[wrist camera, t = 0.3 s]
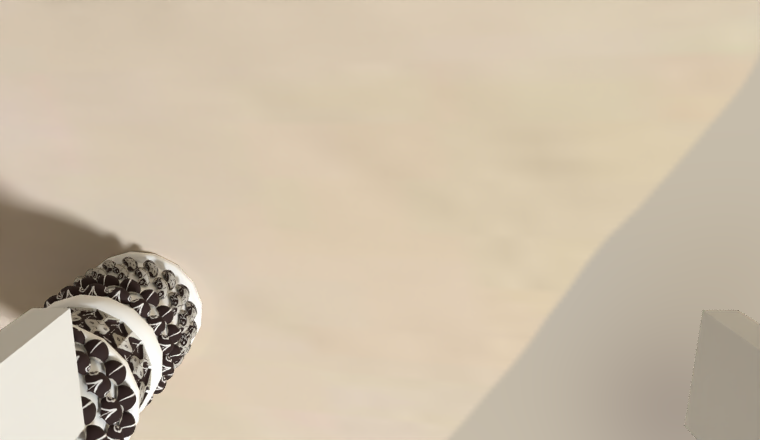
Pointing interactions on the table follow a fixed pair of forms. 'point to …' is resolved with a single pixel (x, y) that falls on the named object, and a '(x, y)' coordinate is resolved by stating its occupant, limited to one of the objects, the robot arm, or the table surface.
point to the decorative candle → (128, 336)
